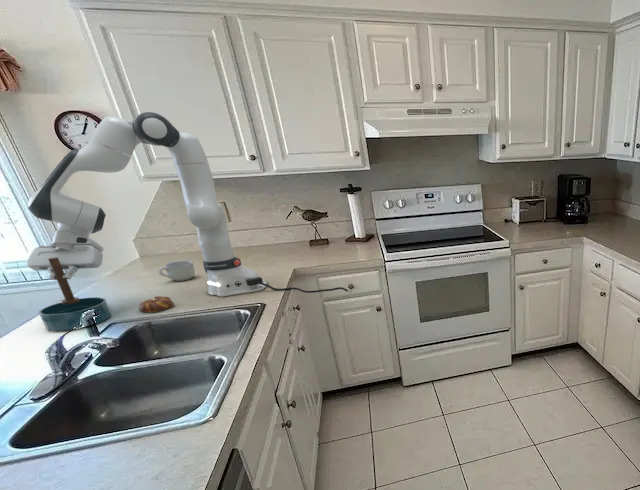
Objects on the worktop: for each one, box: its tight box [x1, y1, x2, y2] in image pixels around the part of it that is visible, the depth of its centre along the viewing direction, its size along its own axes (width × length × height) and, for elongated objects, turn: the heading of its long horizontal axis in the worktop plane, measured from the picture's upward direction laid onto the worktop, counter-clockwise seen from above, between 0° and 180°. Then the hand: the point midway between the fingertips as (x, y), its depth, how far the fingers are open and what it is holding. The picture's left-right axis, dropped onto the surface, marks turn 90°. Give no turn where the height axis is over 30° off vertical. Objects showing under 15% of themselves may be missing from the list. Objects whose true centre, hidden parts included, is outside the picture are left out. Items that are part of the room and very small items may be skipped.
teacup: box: [158, 259, 196, 282], centre depth 194 cm, size 14×11×8 cm
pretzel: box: [137, 295, 175, 313], centre depth 161 cm, size 12×11×4 cm
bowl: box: [38, 296, 112, 332], centre depth 148 cm, size 17×17×6 cm
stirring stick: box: [48, 257, 80, 305], centre depth 143 cm, size 4×4×16 cm
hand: (60, 279), depth 142 cm, fingers closed on stirring stick, 2 cm apart
